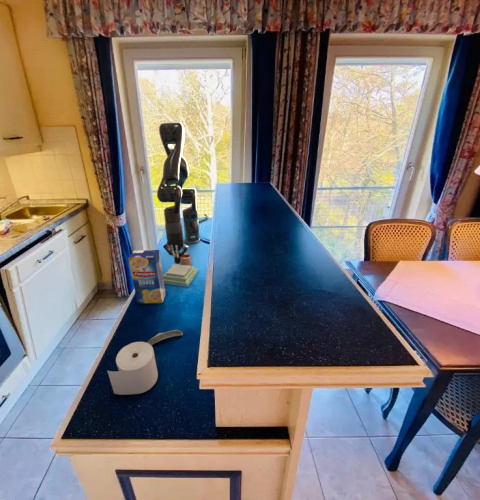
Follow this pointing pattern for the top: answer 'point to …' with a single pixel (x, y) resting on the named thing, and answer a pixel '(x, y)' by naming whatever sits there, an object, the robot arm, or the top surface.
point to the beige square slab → (178, 270)
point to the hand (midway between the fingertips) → (178, 263)
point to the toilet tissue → (134, 369)
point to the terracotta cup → (186, 260)
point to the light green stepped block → (180, 278)
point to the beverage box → (147, 276)
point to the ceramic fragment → (164, 336)
